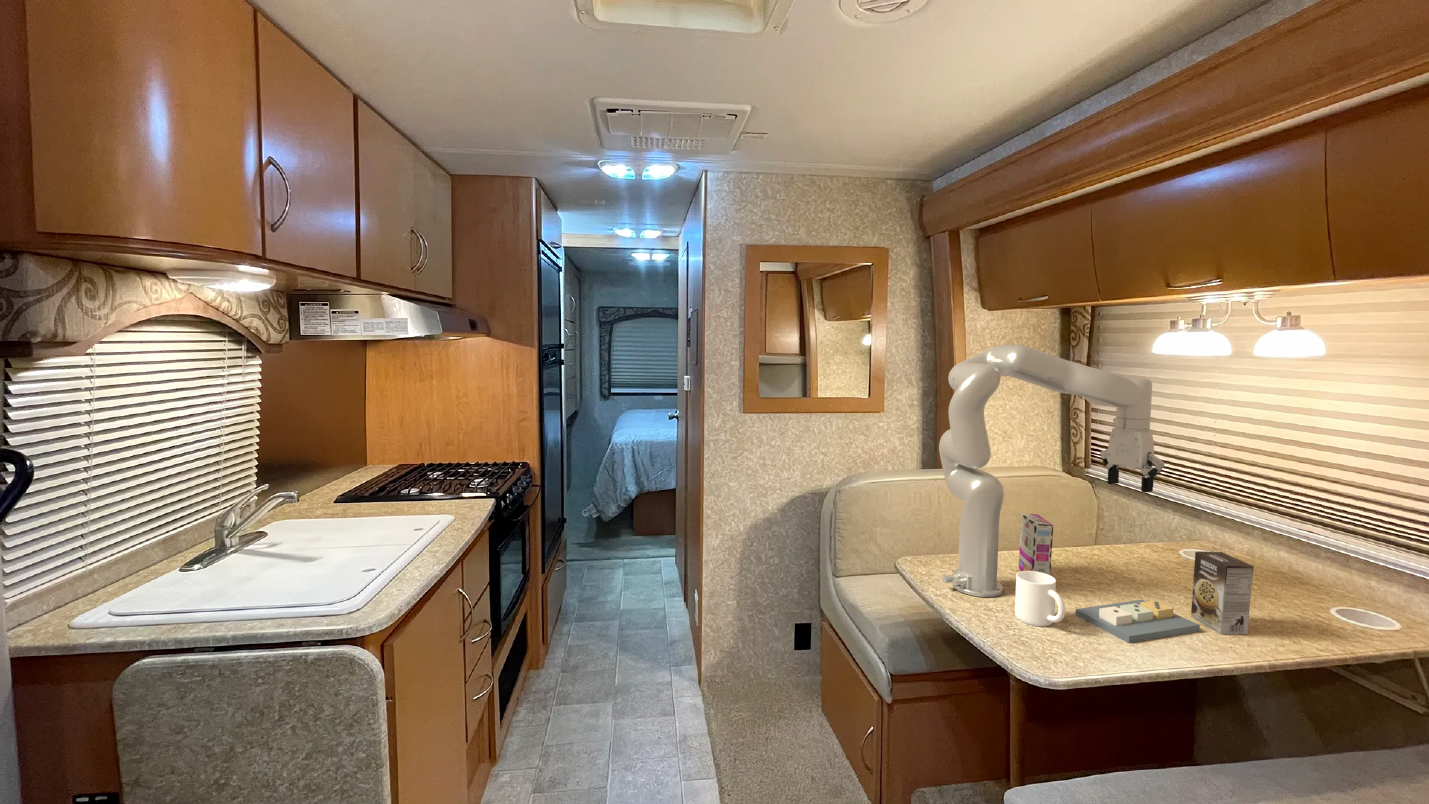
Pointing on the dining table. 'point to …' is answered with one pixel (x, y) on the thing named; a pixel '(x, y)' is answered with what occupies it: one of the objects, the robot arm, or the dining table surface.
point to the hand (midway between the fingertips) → (1129, 487)
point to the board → (1139, 624)
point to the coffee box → (1221, 592)
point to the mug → (1037, 599)
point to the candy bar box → (1035, 544)
